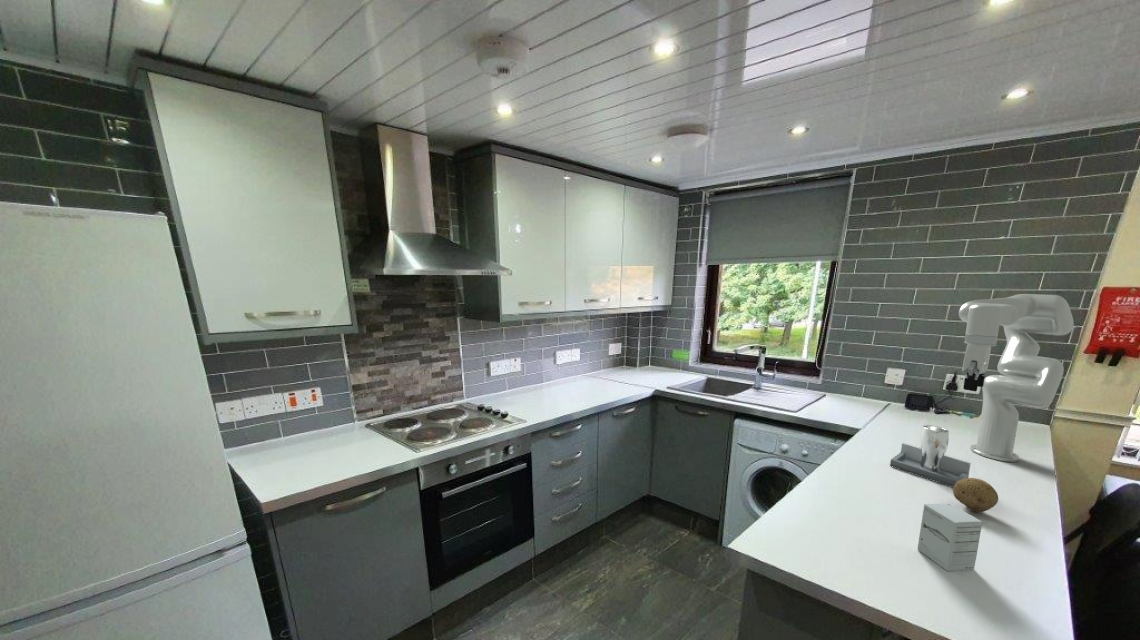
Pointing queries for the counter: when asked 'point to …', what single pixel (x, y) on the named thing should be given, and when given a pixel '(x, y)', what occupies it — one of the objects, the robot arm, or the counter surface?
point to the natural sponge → (975, 494)
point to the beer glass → (933, 447)
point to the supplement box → (949, 536)
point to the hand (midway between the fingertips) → (973, 388)
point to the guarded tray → (949, 476)
